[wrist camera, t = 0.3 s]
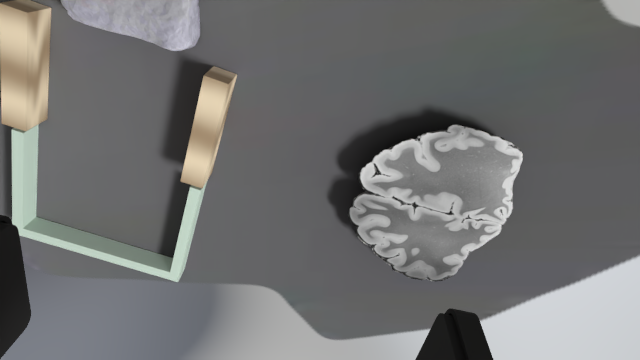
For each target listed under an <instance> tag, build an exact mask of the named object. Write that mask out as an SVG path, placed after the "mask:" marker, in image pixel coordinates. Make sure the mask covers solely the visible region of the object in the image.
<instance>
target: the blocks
mask: <svg viewBox="0 0 640 360" xmlns="http://www.w3.org/2000/svg"><path fill="white" fill-rule="evenodd" d="M50 28H51V7H48V6H45V5H42V4H39V3H37V2H34V1H31V0H14V1H8V2H2V3H0V65H1V115H2V124H5V125H8V126H11V127H14V128H17V129H20V130H23V131H27V130H29V129H31V128H33V127H34V126H36V125H38V124H40V123H41V122H43V121H45V120H46V119H47V110H48V82H49V55H50ZM236 77H237V74H235V73H232V72H229V71H226V70H224V69H221V68H218V67H215V66H213V67H212V68H211V69H210V70H209V71H208V72H207V73H206V74H205V75H204V76H203V81H202V85H201V90H200V94H199V99H198V103H197V108H196V113H195V117H194V122H193V126H192V131H191V135H190V140H189V144H188V149H187V154H186V158H185V163H184V167H183V172H182V176H181V182H184V183H187V184H190V185H193V186H196V187H199V188H202V189H203V187H204V185H205V184H206V182H207V180H208V178H209V177H210V175H211V173H212V170H213V166H214V162H215V158H216V154H217V151H218V147H219V143H220V139H221V135H222V131H223V127H224V123H225V120H226V116H227V112H228V108H229V104H230V100H231V96H232V93H233V89H234V85H235V81H236Z"/></svg>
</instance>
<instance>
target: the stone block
mask: <svg viewBox="0 0 640 360" xmlns="http://www.w3.org/2000/svg"><path fill="white" fill-rule="evenodd" d="M198 1H199V0H61V3H62V4H63V6H64V7H65V9H66V10H67V13H68V14H69V15H70V16H71V17H72V19H74V20H76V21H79V22H82V23H84V24H86V25H89V26H93V27H97V28H100V29H103V30H107V31H110V32H114V33H118V34H123V35H128V36H132V37H136V38H139V39H143V40H145V41H148V42H151V43H154V44H156V45H158V46H160V47H162V48H165V49H169V50H172V51H181V50H184V49H188V48H192V47H194V46H195V45H196V43H197V41H198V39H199V37H200V18H199V6H198Z"/></svg>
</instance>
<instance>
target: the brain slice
mask: <svg viewBox="0 0 640 360" xmlns="http://www.w3.org/2000/svg"><path fill="white" fill-rule="evenodd" d="M522 160H523V154H522V152H521V150H520V149H519V148H518V147H517V146H515V145H513V144H512V143H510V142H509V141H507V140H505V139H503V138H502V137H499V136H496V135H490V134H488V133H486V132H483V131H480V130H477V129H474V128H471V127H464V126H461V125H451V126H450V127H448V128H447V130H438V131H432V132H427V133H423V134H422V135H420V136H418V137H417V139H411V138H410V139H407V140H403V141H401V142H399V143H397V144H395V145H394V146H392V147H390V148H389V149H387V150H383V151H381V152H379V153H378V154H376V155H375V156H374V157H373V158H372V160H371V162H369V163H367V164H366V165H365V166H364V167H363V168H362V169H361V171H360V172H359V175H358V180H359V183H360V185H361V187H362V188H363V189H364V190H365V192H363V193H361V194H359V195H358V196H357V197H355V198H354V200H353V201H352V205H351V208H350V209H349V210H348V218H349V220H350V222H351V223H352V224H353V225H354V226H357V228H356V234H357V236H358V237H359V239H360V240H361V241H362V242H363V243H364V244H367V245H369V246H371V247H372V250H373V252H374V253H375V254H376V255H377V256H379V257H380V258H381V259H383V260H384V261H385V262H386V263H387V264H389V265H391V266H392V269H393V270H394V271H396V272H398V273H402V274H404V275H405V276H407V277H409V278H413V279H419V280H424V279H426V278H427V279H428V280H430V281H442V280H445V279H448V278H450V277H452V276H453V275H455V274H456V273H457V270H458V269H459V268H460V267H461V266H462V264H463V261H464V260H465V259H466V257H467V256H468V255H469V254H470V253H471V252H473V251H474V250H476V249H478V248H479V247H481V246H483V245H484V244H485V243H486V242H488V241H489V240H491V239H493V238H494V237H495V236H497V235H498V234H499V233H500V231H501V229H502V227H501V225H503V224H505V222H506V220H507V219H508V217H509V216H510V214H511V212H512V211H513V203H512V199H513V190H512V186H513V180H514V179H515V177H516V176H517V174H518V172H519V170H520V165H521V163H522Z"/></svg>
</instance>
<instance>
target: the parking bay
mask: <svg viewBox="0 0 640 360" xmlns="http://www.w3.org/2000/svg"><path fill="white" fill-rule="evenodd" d="M38 125H39V124H38ZM38 125H36V126H34V127H33V128H31V129H29V130H27V131H23V130H20V129H17V128H13V129H12V224H13V225H16V227H17V228H18V231H19V235H21V236H24V237H27V238H31V239H34V240H37V241H41V242H44V243H48V244H51V245H54V246H58V247H61V248H64V249H68V250H71V251H75V252H78V253H81V254H85V255H88V256H91V257H95V258H98V259H102V260H105V261H108V262H112V263H115V264H118V265H122V266H125V267H128V268H132V269H135V270H139V271H142V272H145V273H149V274H152V275H155V276H159V277H162V278H166V279H169V280H172V281H176V282H178V281H179V279H180V277H181V275H182V273H183V271H184V269H185V265H186V261H187V257H188V253H189V249H190V245H191V241H192V237H193V234H194V230H195V226H196V222H197V218H198V214H199V210H200V206H201V202H202V198H203V194H204V190H205V186H206V184H205V185H204V187H203V189H202V188H199V187H196V186H193V185H191V186H190V189H189V193H188V198H187V202H186V206H185V210H184V215H183V219H182V223H181V228H180V232H179V236H178V240H177V245H176V249H175V253H174V257H173V258H171V257H168V256H164V255H161V254H158V253H154V252H151V251H148V250H144V249H141V248H138V247H134V246H131V245H128V244H125V243H121V242H118V241H115V240H111V239H108V238H105V237H101V236H98V235H95V234H91V233H88V232H85V231H82V230H78V229H75V228H72V227H68V226H65V225H62V224H58V223H55V222H52V221H49V220H45V219H42V218H39V217H36V202H37V163H38Z"/></svg>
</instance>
